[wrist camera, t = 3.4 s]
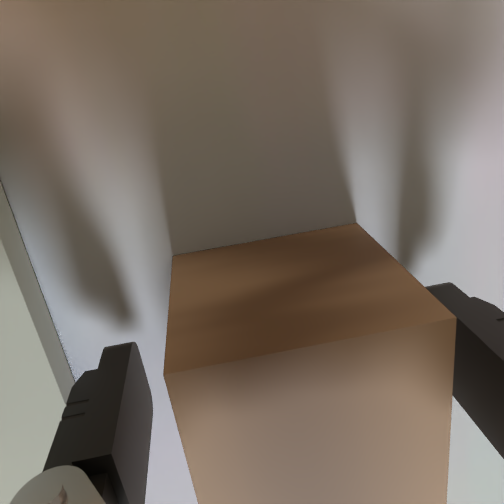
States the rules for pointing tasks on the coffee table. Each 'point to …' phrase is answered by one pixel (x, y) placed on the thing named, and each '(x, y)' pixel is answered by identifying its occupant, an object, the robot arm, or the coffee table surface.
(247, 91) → the coffee table surface
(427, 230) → the coffee table surface
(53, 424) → the board
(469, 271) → the coffee table surface
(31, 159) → the coffee table surface
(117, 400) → the robot arm
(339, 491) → the walnut cube
